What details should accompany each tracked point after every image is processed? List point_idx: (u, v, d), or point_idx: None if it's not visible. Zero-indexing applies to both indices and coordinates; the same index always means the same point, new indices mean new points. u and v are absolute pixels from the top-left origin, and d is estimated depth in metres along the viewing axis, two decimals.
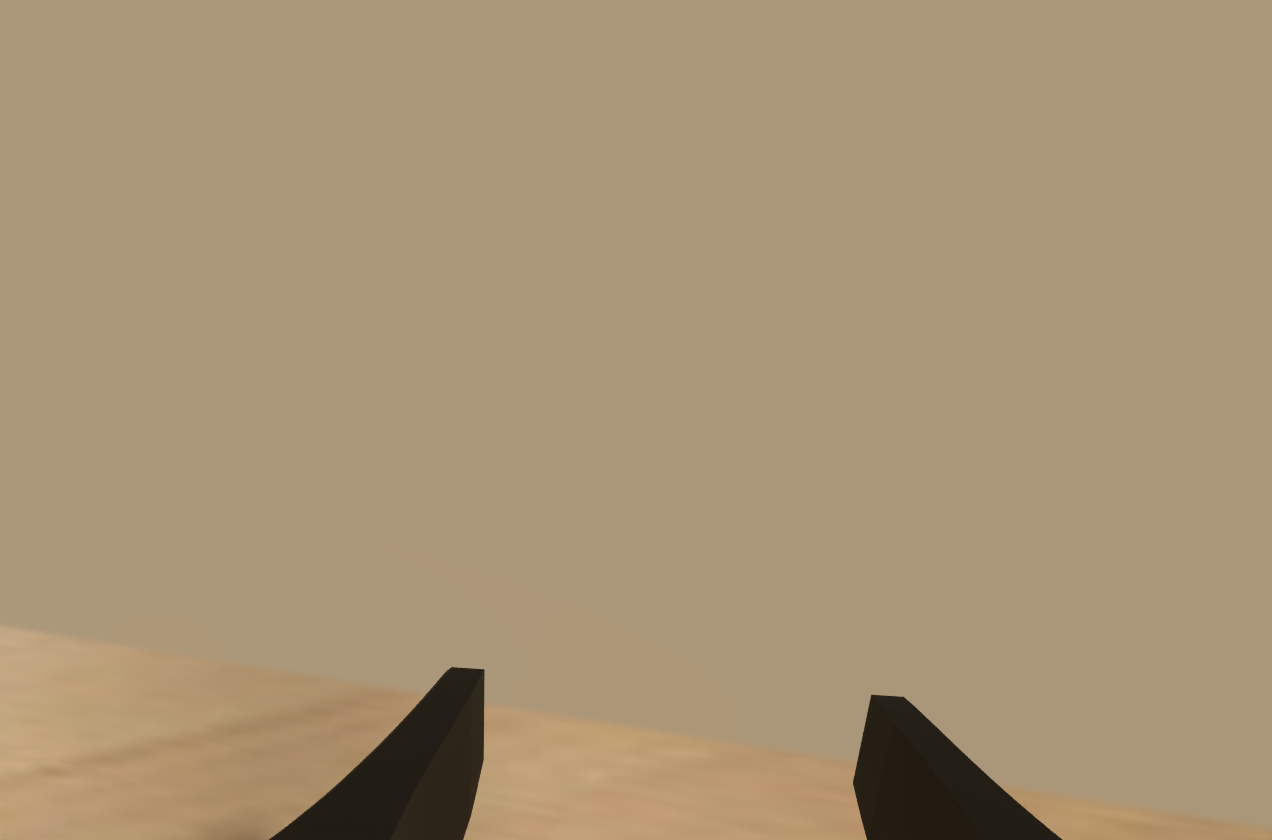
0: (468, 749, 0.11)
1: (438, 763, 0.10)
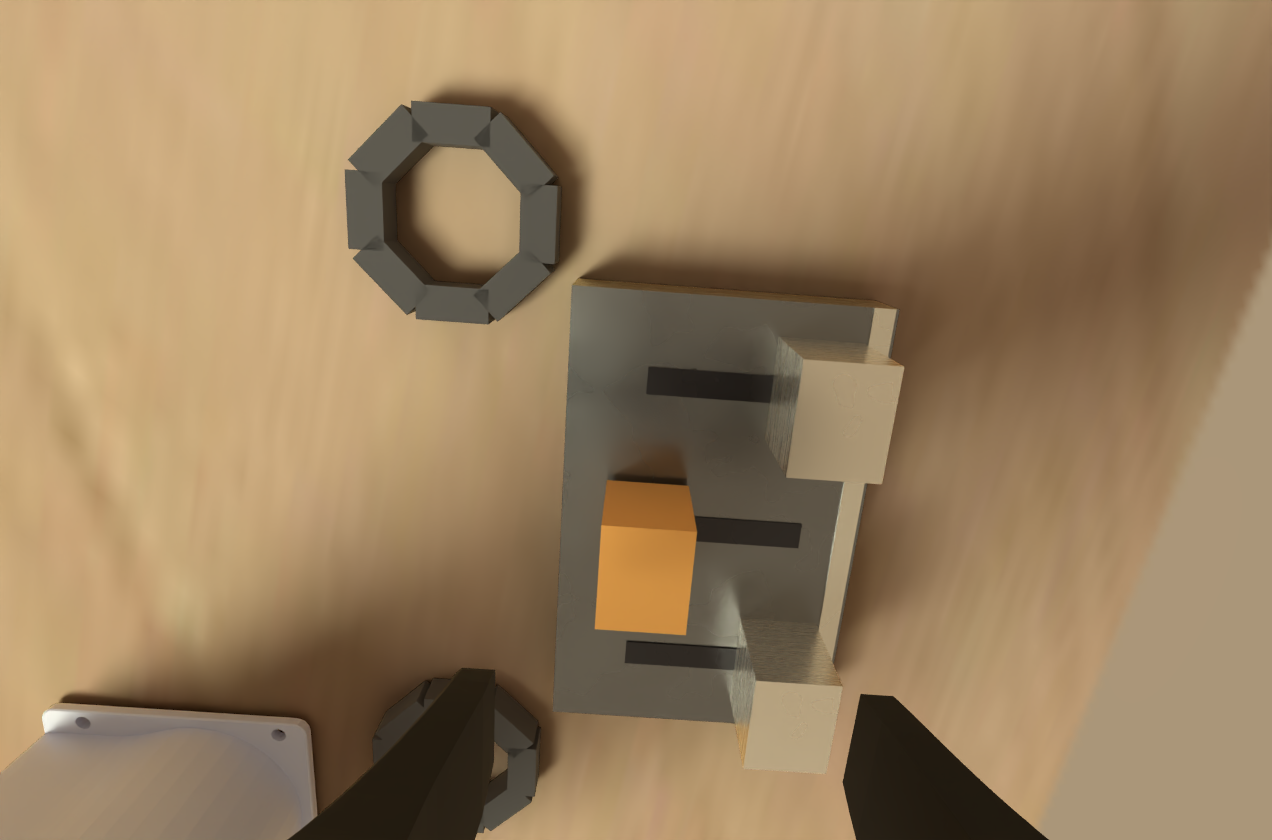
0: (480, 750, 0.11)
1: (452, 764, 0.10)
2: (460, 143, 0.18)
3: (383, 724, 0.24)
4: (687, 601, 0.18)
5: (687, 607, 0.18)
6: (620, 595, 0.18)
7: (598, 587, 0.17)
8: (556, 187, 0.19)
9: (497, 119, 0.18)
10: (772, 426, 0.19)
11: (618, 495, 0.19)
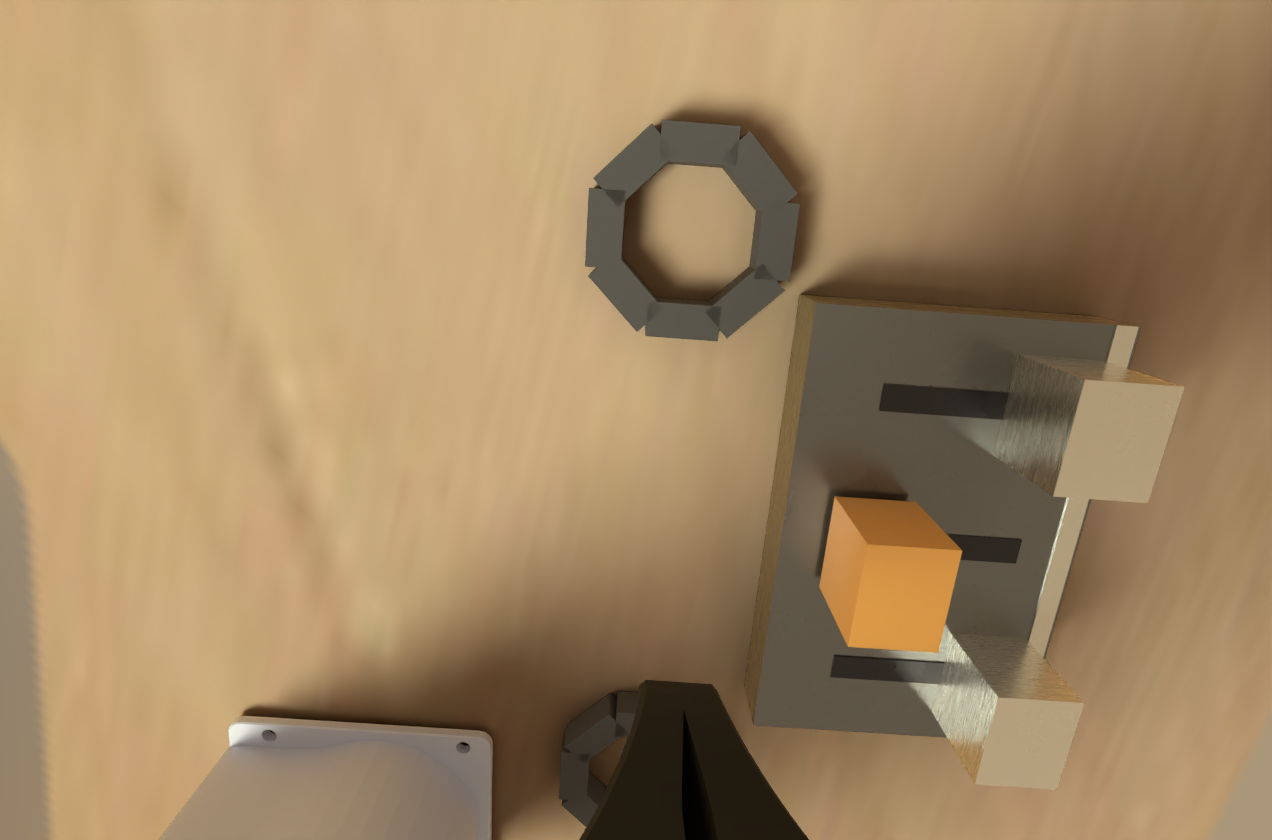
0: None
1: (680, 778, 0.10)
2: (707, 161, 0.18)
3: (571, 737, 0.24)
4: (944, 619, 0.18)
5: (942, 625, 0.18)
6: (878, 613, 0.18)
7: (857, 605, 0.18)
8: (798, 205, 0.19)
9: (746, 138, 0.18)
10: (1011, 443, 0.19)
11: (858, 512, 0.19)
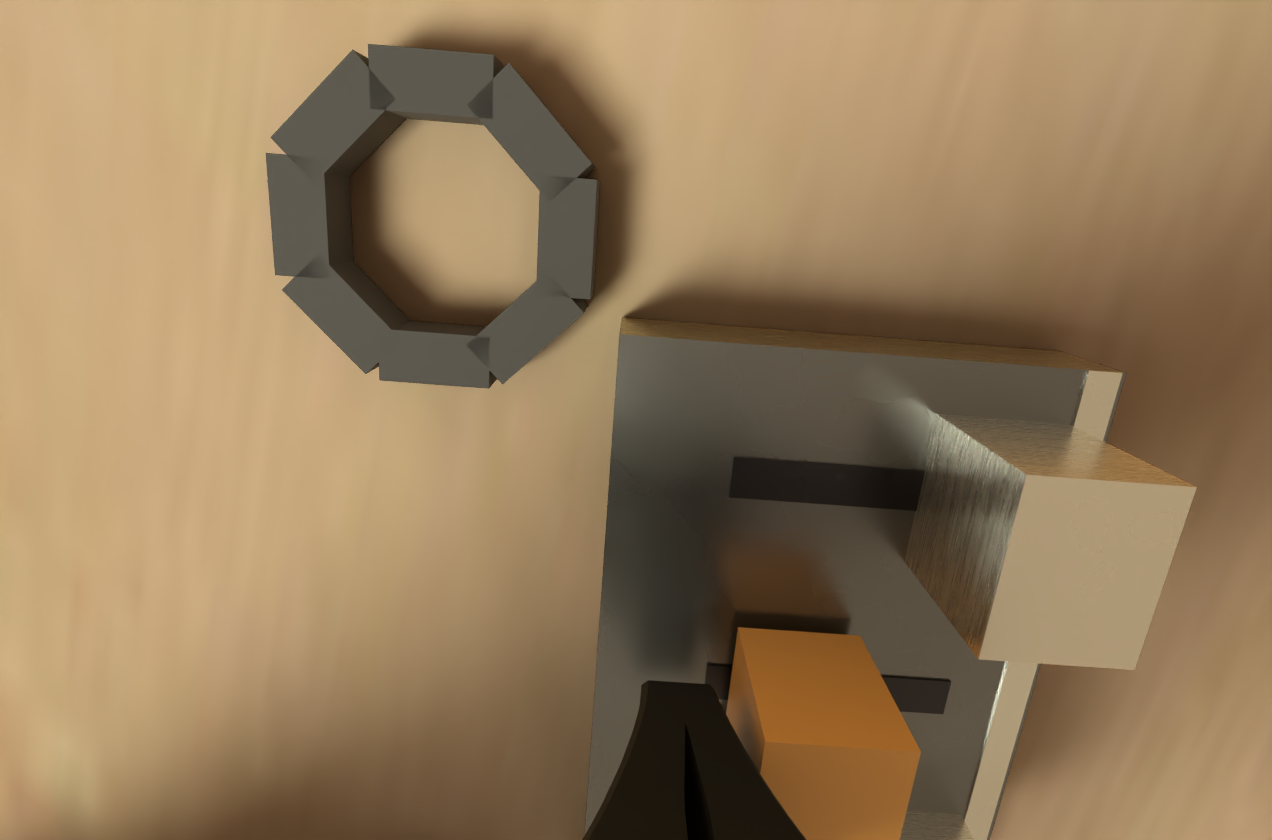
0: None
1: (683, 778, 0.10)
2: (445, 112, 0.12)
3: None
4: None
5: None
6: None
7: None
8: (595, 182, 0.12)
9: (504, 74, 0.12)
10: (926, 551, 0.12)
11: (766, 663, 0.12)
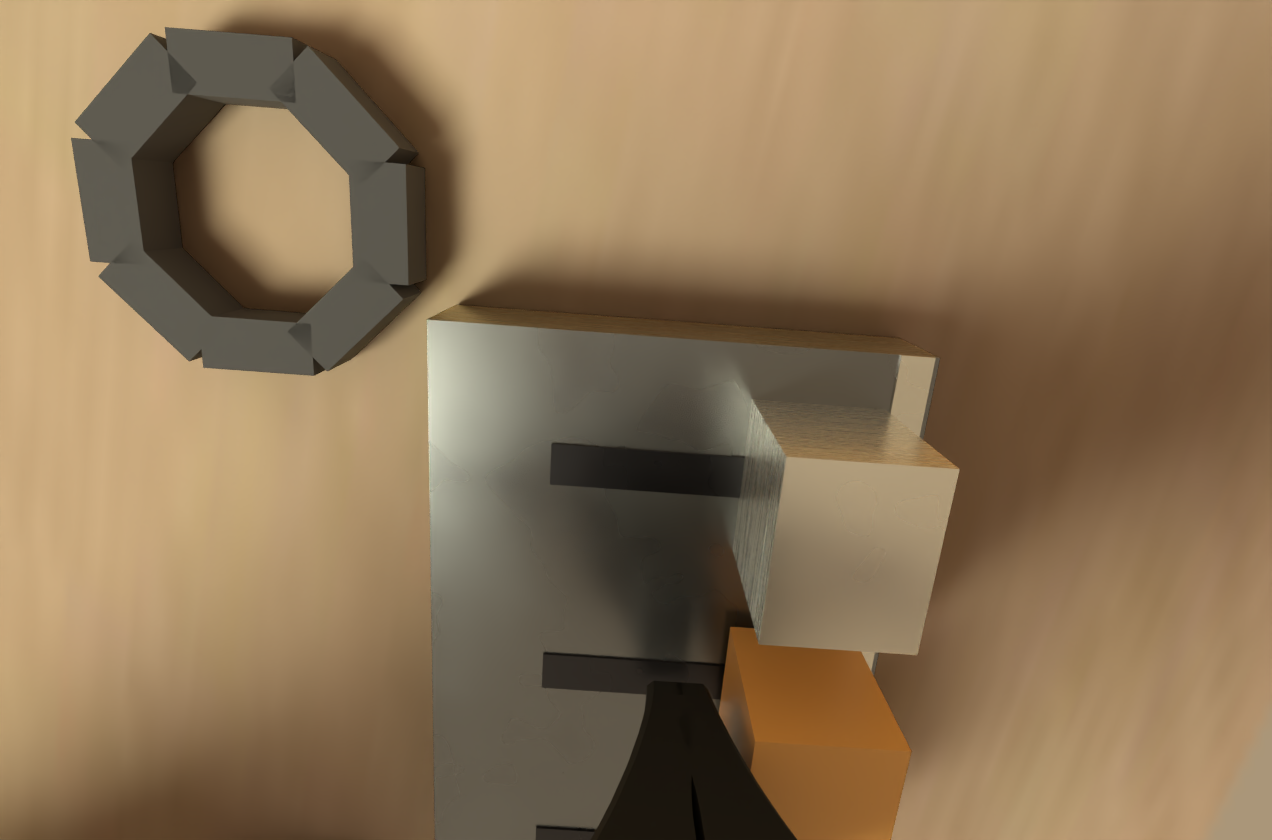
0: None
1: (689, 779, 0.10)
2: (248, 95, 0.12)
3: None
4: None
5: None
6: None
7: None
8: (404, 166, 0.12)
9: (304, 57, 0.11)
10: (742, 538, 0.12)
11: (758, 662, 0.12)
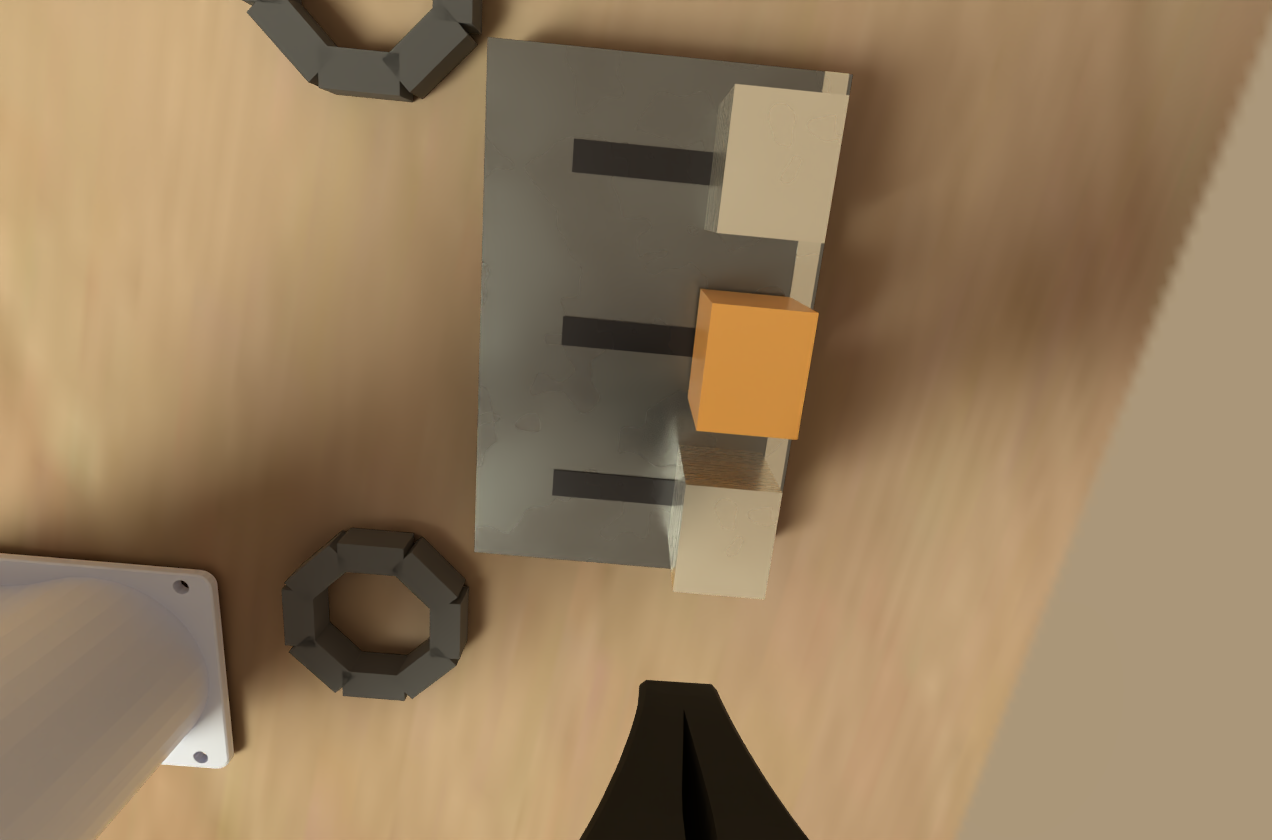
0: None
1: (680, 779, 0.10)
2: None
3: (293, 573, 0.22)
4: (802, 398, 0.16)
5: (801, 406, 0.16)
6: (728, 391, 0.16)
7: (704, 379, 0.16)
8: None
9: None
10: (709, 204, 0.17)
11: (719, 294, 0.17)
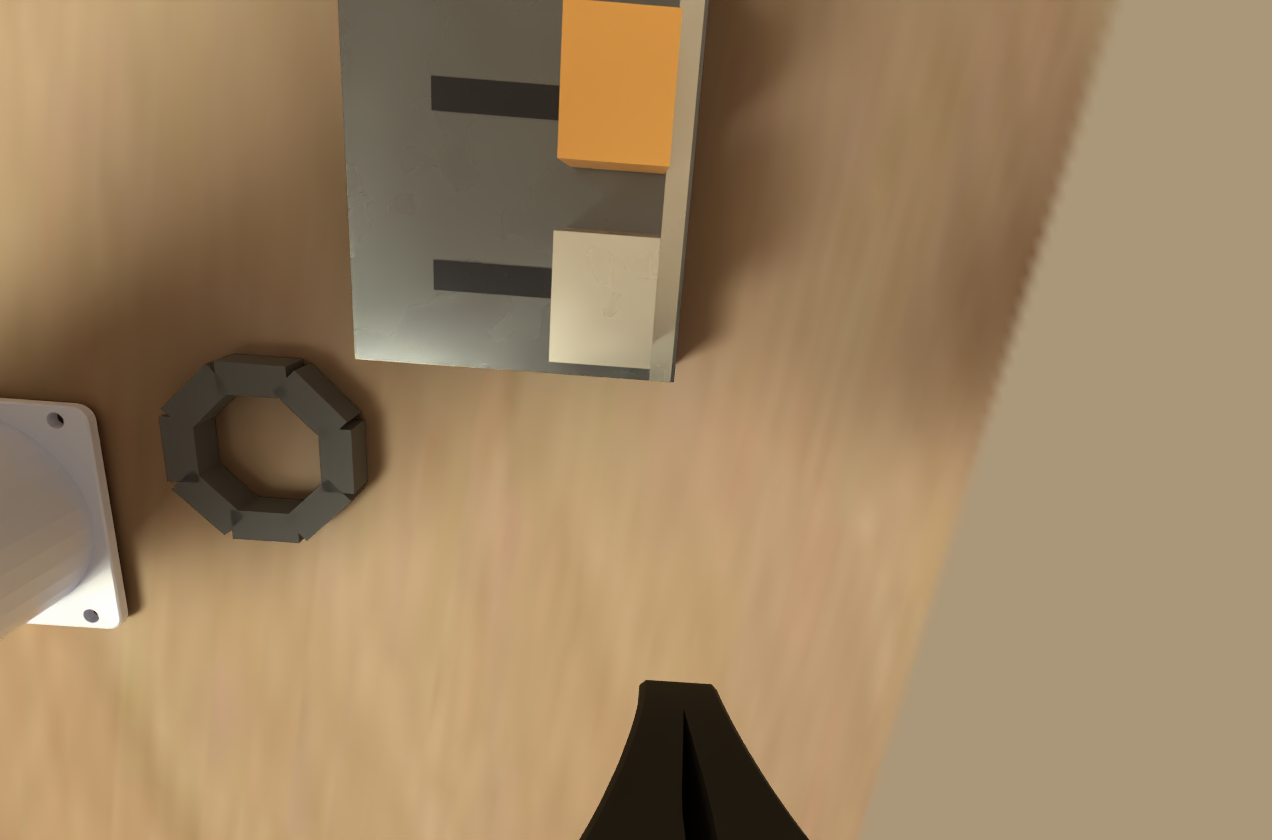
0: None
1: (680, 778, 0.10)
2: None
3: None
4: (671, 114, 0.14)
5: (671, 125, 0.14)
6: (589, 107, 0.14)
7: (560, 93, 0.14)
8: None
9: None
10: None
11: None
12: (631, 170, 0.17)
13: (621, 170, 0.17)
